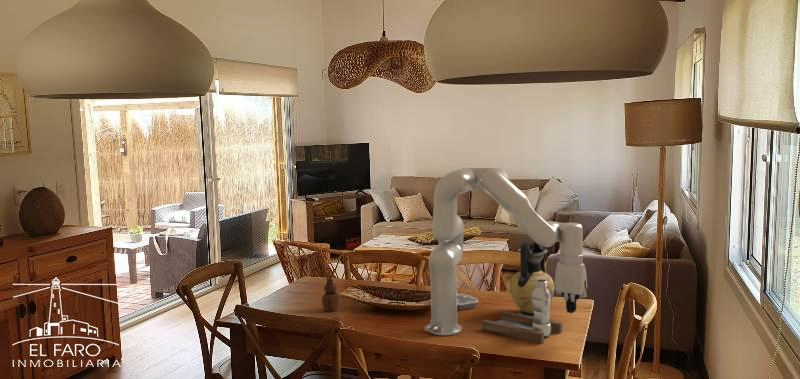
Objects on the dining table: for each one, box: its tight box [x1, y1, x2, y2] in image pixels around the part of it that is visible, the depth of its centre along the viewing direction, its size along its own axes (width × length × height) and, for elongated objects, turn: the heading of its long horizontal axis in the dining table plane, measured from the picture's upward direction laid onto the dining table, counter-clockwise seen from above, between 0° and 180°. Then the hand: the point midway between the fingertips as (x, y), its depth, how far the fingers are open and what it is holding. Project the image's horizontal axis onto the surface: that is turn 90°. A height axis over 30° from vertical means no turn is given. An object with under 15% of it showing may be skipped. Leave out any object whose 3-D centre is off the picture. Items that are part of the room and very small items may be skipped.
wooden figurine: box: [321, 275, 340, 313], centre depth 264 cm, size 7×6×15 cm
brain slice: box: [457, 292, 480, 311], centre depth 269 cm, size 20×17×3 cm
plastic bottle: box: [532, 279, 552, 338], centre depth 228 cm, size 6×7×20 cm
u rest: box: [481, 310, 563, 345], centre depth 234 cm, size 16×24×4 cm, turn 49°
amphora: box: [509, 241, 555, 317], centre depth 253 cm, size 18×17×30 cm
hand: (571, 311), depth 221 cm, fingers closed
